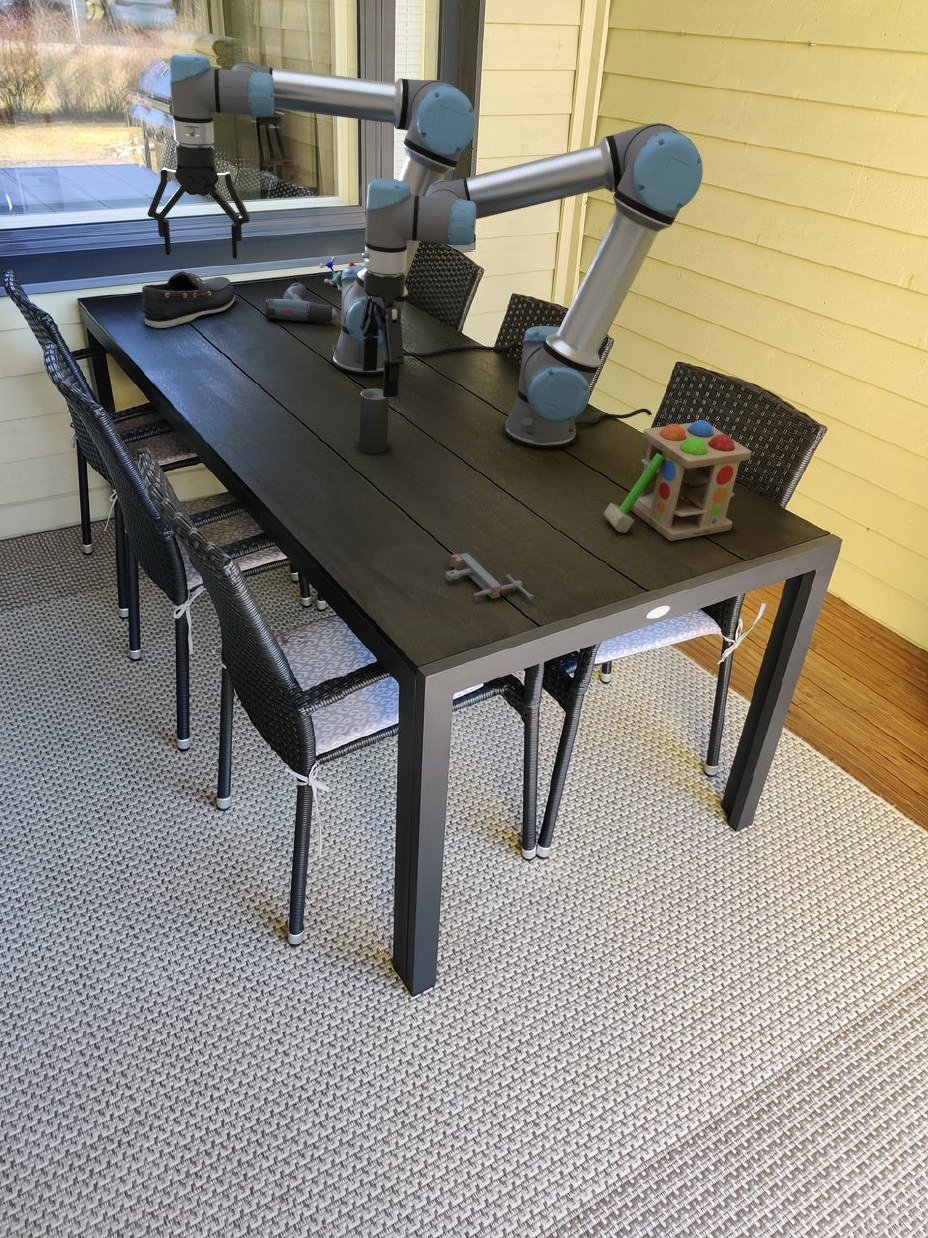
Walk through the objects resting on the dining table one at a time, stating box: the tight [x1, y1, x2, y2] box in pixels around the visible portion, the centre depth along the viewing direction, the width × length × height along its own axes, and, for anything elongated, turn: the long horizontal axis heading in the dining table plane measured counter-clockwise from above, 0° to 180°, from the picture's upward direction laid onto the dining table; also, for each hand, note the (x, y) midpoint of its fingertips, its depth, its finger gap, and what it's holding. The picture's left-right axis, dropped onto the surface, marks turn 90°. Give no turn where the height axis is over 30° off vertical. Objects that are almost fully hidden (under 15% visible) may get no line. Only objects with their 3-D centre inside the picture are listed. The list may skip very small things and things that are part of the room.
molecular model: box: [319, 256, 362, 292], centre depth 287 cm, size 12×10×10 cm
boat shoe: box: [141, 270, 236, 329], centre depth 257 cm, size 13×33×10 cm, turn 147°
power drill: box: [264, 282, 338, 322], centre depth 265 cm, size 5×19×20 cm
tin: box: [358, 388, 390, 455], centre depth 196 cm, size 6×6×12 cm
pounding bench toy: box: [603, 419, 753, 542], centre depth 178 cm, size 23×14×18 cm, turn 116°
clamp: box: [445, 552, 535, 601], centre depth 158 cm, size 15×2×10 cm
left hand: (201, 255), depth 206 cm, fingers open, 13 cm apart
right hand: (379, 383), depth 191 cm, fingers open, 13 cm apart
